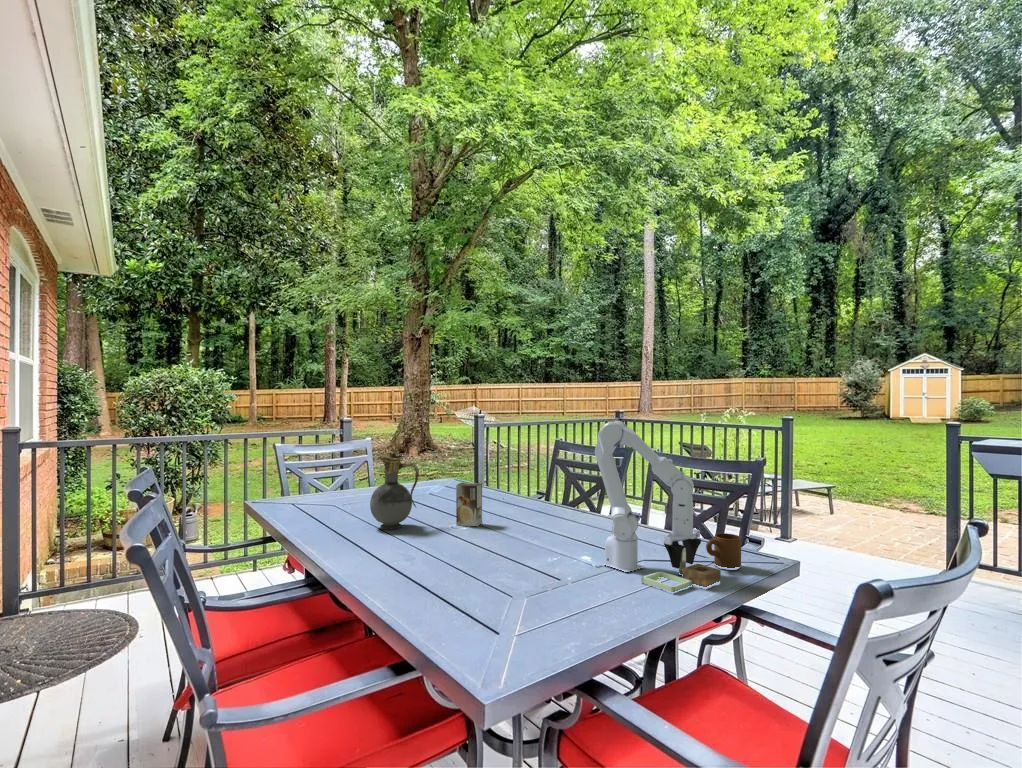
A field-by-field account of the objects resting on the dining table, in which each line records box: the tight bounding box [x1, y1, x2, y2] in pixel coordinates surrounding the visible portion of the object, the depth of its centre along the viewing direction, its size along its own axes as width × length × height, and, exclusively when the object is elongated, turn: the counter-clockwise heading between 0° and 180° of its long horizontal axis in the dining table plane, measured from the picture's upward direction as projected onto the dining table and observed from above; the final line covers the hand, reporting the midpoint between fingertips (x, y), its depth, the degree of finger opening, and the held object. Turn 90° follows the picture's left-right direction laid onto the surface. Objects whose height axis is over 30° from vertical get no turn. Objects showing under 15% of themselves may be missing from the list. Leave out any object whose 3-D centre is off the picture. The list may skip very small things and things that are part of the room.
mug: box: [705, 532, 742, 568], centre depth 170 cm, size 12×8×9 cm, turn 114°
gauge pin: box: [678, 547, 687, 574], centre depth 164 cm, size 2×2×8 cm
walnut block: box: [682, 563, 722, 587], centre depth 156 cm, size 7×7×4 cm
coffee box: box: [455, 482, 483, 527], centre depth 223 cm, size 9×6×16 cm
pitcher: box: [369, 448, 420, 530], centre depth 218 cm, size 11×19×30 cm, turn 121°
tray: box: [640, 570, 692, 592], centre depth 155 cm, size 10×8×2 cm
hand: (682, 565), depth 164 cm, fingers open, 6 cm apart
